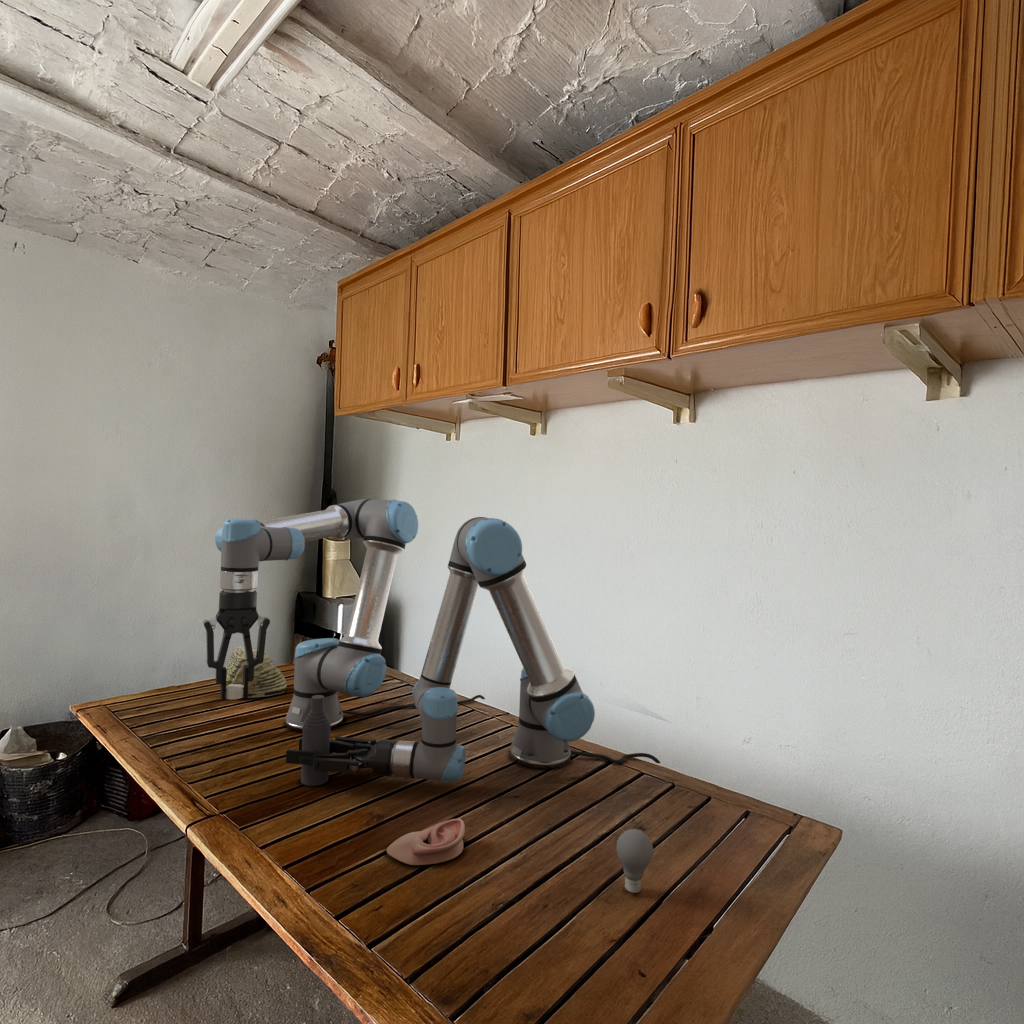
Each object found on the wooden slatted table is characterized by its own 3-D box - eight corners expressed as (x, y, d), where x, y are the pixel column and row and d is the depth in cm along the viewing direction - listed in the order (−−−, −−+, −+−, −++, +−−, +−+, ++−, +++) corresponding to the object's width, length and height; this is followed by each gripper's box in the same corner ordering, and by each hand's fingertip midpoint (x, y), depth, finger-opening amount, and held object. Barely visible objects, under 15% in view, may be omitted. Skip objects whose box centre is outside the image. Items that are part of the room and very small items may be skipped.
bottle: (333, 776, 144) (336, 694, 143) (319, 787, 138) (322, 702, 137) (310, 772, 145) (313, 691, 145) (295, 783, 139) (298, 699, 139)
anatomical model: (380, 837, 111) (404, 807, 122) (379, 860, 111) (403, 827, 122) (452, 849, 108) (470, 817, 120) (451, 872, 108) (469, 838, 120)
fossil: (218, 695, 195) (220, 647, 195) (278, 685, 208) (279, 640, 207) (228, 703, 189) (230, 653, 188) (289, 692, 201) (290, 645, 201)
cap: (241, 693, 140) (241, 683, 140) (245, 698, 137) (246, 687, 137) (222, 695, 138) (222, 685, 138) (226, 700, 135) (226, 690, 135)
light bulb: (610, 879, 108) (613, 822, 108) (644, 879, 109) (647, 822, 109) (619, 902, 102) (622, 840, 102) (655, 901, 103) (658, 840, 103)
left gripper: (196, 593, 130) (192, 707, 130) (282, 591, 138) (277, 698, 138) (194, 588, 136) (189, 697, 136) (276, 586, 145) (271, 688, 145)
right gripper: (381, 795, 130) (273, 785, 132) (404, 758, 149) (309, 750, 151) (382, 758, 130) (274, 750, 132) (406, 726, 149) (311, 719, 151)
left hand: (233, 697), depth 137 cm, fingers closed on cap, 4 cm apart
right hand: (293, 750), depth 142 cm, fingers closed on bottle, 6 cm apart
